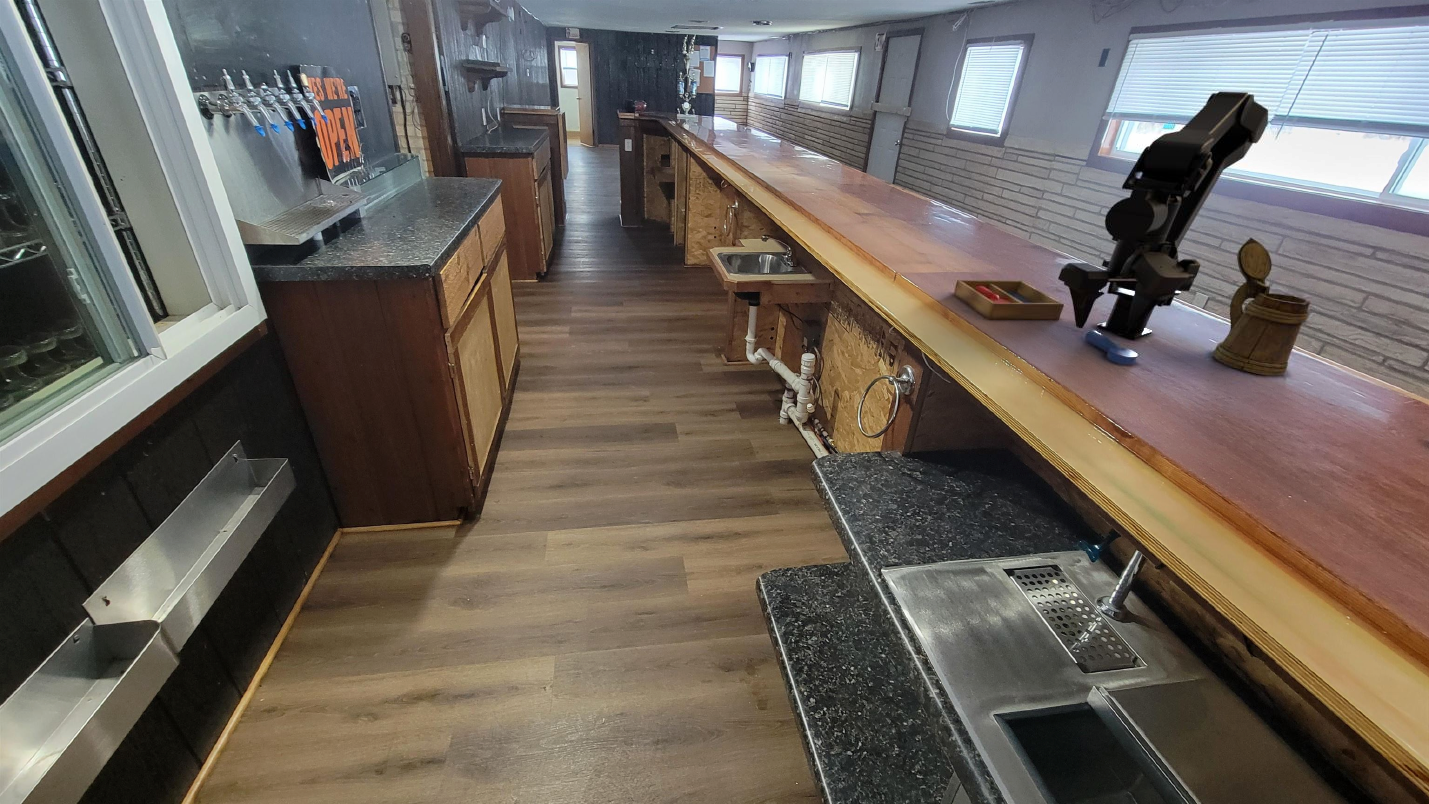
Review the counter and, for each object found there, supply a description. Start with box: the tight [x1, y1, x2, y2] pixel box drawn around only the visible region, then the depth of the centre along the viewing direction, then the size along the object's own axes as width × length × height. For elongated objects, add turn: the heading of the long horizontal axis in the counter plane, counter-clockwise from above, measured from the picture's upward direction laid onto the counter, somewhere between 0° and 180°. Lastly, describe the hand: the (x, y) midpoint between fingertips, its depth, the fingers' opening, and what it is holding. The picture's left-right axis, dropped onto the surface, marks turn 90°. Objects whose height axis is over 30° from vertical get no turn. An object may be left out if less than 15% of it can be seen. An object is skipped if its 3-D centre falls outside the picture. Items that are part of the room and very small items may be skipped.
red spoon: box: [975, 286, 1010, 303], centre depth 109 cm, size 10×4×2 cm, turn 6°
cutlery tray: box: [953, 279, 1065, 320], centre depth 110 cm, size 14×14×3 cm
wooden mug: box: [1212, 237, 1311, 376], centre depth 88 cm, size 9×14×18 cm, turn 10°
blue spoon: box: [1084, 329, 1138, 366], centre depth 92 cm, size 10×4×2 cm, turn 6°
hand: (1104, 327), depth 93 cm, fingers open, 9 cm apart
